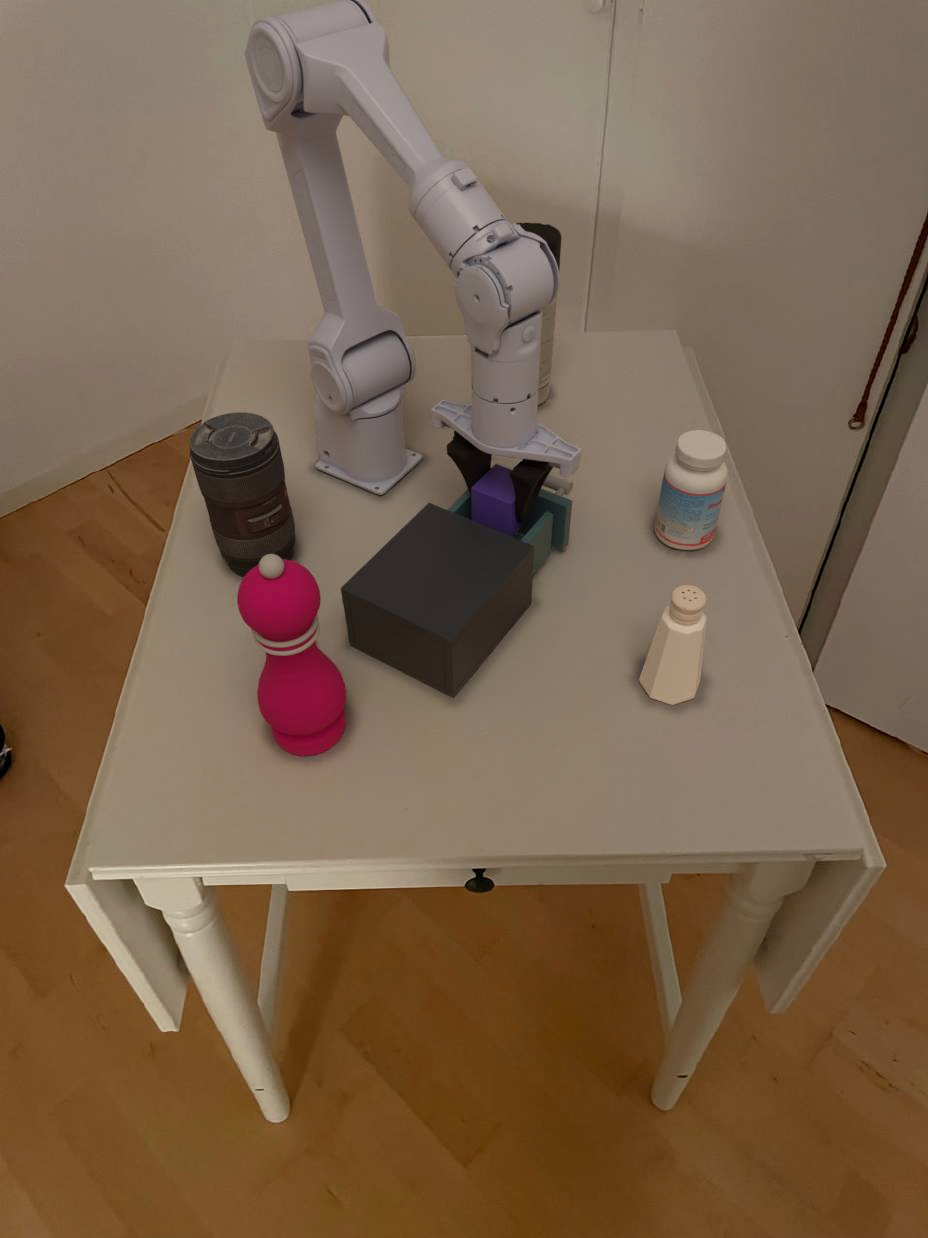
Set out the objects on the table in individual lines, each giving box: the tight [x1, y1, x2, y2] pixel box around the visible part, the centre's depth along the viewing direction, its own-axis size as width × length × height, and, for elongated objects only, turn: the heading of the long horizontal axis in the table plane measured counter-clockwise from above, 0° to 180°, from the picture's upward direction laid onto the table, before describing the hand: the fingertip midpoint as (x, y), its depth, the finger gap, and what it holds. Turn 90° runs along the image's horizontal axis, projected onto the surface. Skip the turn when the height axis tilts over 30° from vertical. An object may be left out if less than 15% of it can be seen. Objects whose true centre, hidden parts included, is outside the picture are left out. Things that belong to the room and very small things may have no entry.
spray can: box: [515, 222, 562, 407], centre depth 105 cm, size 7×7×20 cm
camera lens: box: [189, 411, 296, 578], centre depth 88 cm, size 8×8×15 cm
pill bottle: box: [654, 429, 729, 551], centre depth 91 cm, size 6×6×11 cm
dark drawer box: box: [340, 502, 534, 699], centre depth 84 cm, size 14×12×8 cm
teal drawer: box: [446, 472, 574, 575], centre depth 90 cm, size 17×10×6 cm, turn 147°
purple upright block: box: [471, 463, 533, 537], centre depth 87 cm, size 4×4×4 cm
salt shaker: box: [638, 584, 708, 706], centre depth 77 cm, size 5×5×11 cm
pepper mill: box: [236, 554, 347, 757], centre depth 71 cm, size 7×7×20 cm
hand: (502, 508), depth 88 cm, fingers closed on purple upright block, 4 cm apart
